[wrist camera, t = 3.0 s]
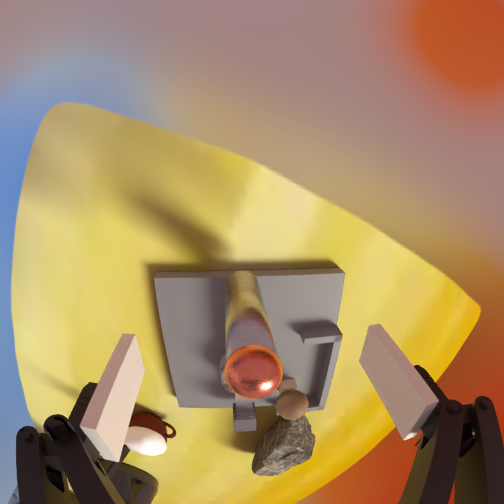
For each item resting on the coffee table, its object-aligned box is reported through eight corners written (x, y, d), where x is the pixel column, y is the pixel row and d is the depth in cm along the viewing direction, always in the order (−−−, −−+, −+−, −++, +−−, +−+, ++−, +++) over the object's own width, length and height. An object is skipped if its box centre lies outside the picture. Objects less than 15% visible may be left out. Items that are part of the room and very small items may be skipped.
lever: (225, 415, 28) (228, 502, 17) (214, 269, 22) (206, 371, 11) (262, 413, 29) (276, 499, 18) (268, 268, 23) (305, 365, 12)
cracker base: (180, 398, 31) (177, 417, 28) (157, 271, 26) (149, 286, 23) (317, 391, 33) (323, 409, 30) (339, 267, 27) (352, 280, 24)
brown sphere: (272, 404, 29) (277, 427, 25) (274, 384, 28) (279, 408, 24) (302, 401, 29) (309, 423, 26) (306, 381, 28) (314, 404, 25)
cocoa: (177, 412, 33) (174, 483, 21) (175, 435, 34) (172, 499, 23) (112, 398, 31) (93, 465, 20) (116, 423, 33) (101, 484, 21)
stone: (294, 430, 41) (284, 479, 34) (256, 422, 41) (243, 473, 34) (332, 413, 32) (323, 479, 25) (285, 404, 32) (271, 473, 25)
